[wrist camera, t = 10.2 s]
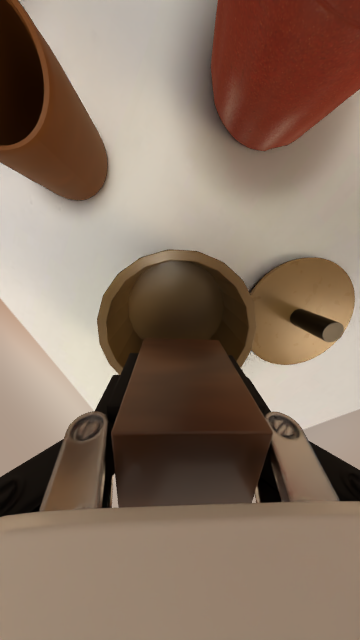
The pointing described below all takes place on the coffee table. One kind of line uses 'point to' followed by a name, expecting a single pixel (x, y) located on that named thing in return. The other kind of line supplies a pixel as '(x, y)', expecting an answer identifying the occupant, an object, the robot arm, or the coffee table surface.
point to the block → (187, 429)
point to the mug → (44, 114)
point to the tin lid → (301, 310)
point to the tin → (176, 305)
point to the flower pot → (283, 66)
